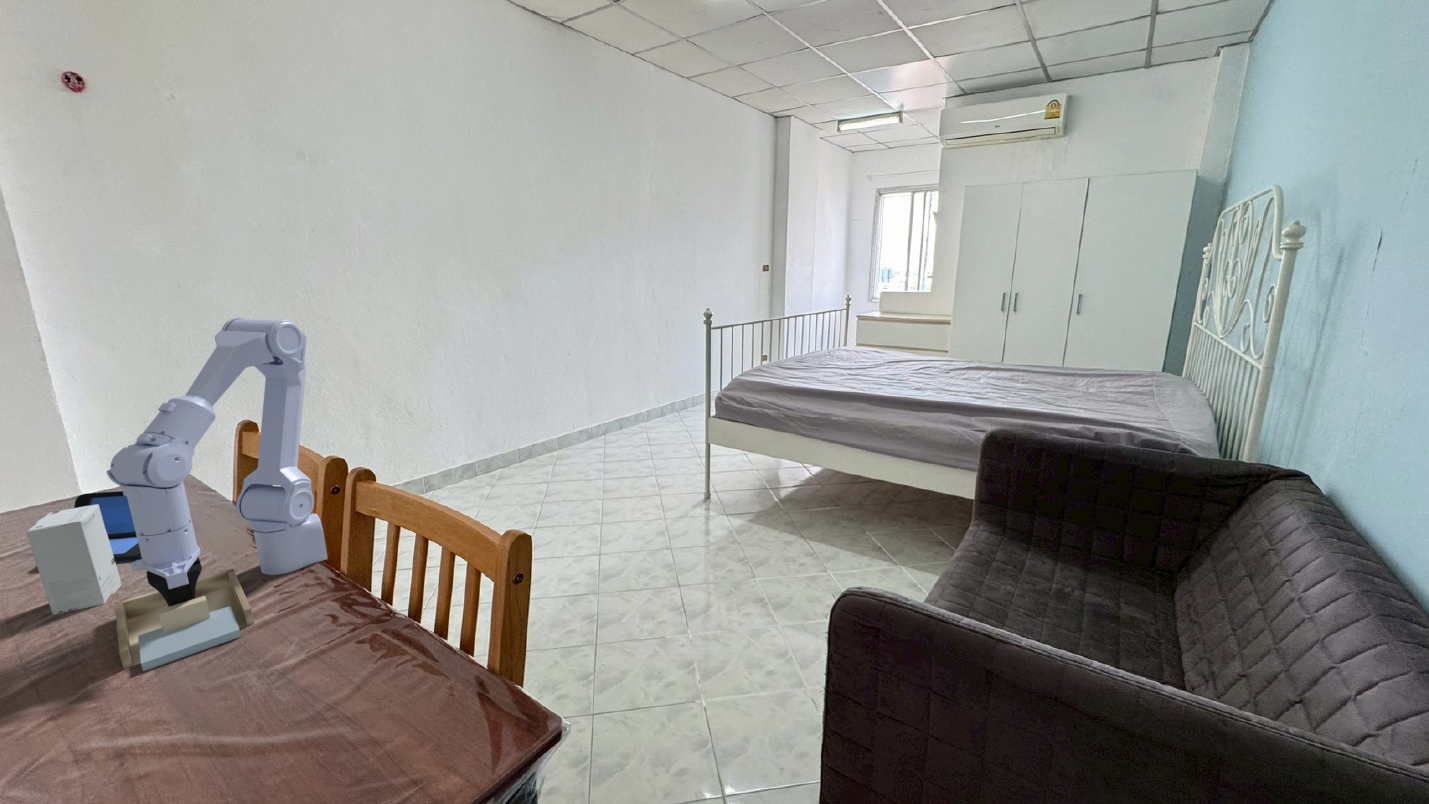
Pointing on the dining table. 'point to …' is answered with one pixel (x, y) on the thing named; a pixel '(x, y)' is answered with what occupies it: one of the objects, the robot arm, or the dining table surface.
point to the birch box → (144, 613)
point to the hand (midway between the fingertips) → (184, 611)
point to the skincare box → (74, 558)
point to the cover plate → (186, 632)
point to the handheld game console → (115, 523)
